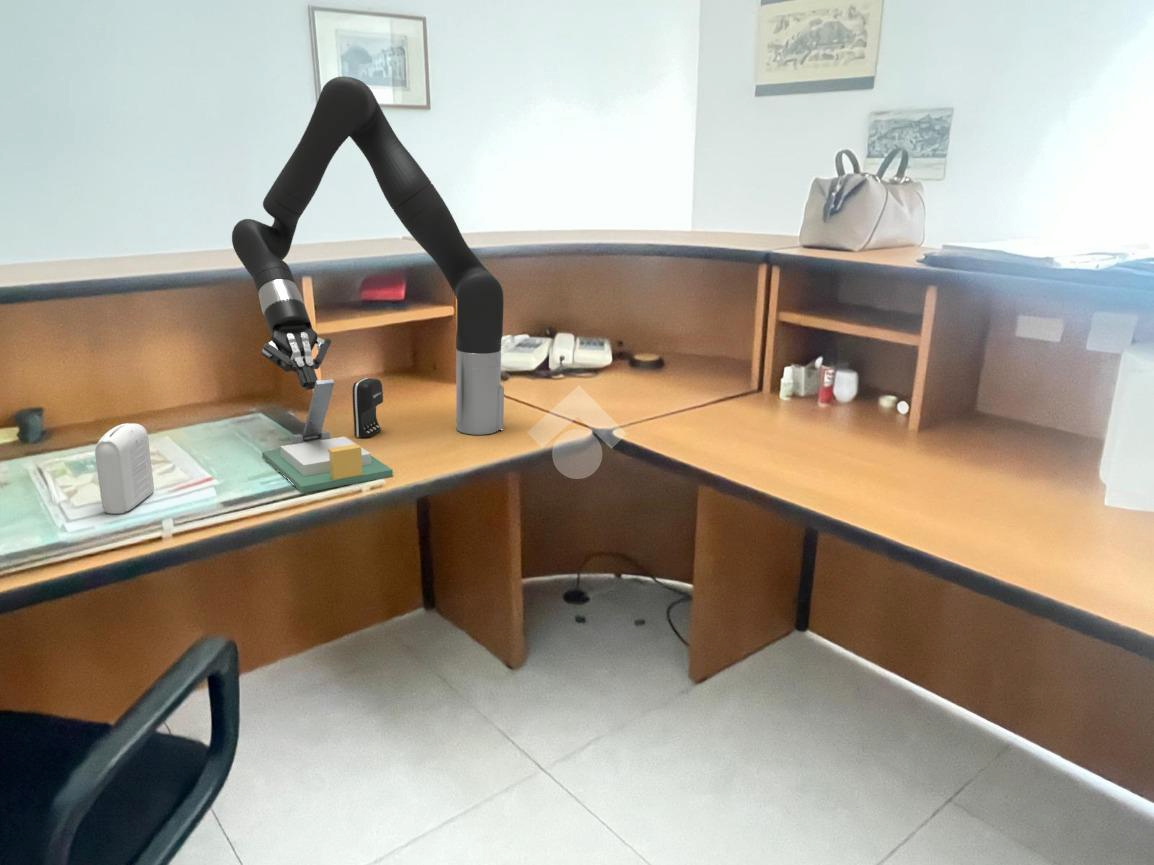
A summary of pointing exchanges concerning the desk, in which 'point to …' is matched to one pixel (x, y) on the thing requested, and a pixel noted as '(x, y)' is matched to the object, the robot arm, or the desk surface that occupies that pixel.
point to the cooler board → (324, 477)
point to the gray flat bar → (317, 409)
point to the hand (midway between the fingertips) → (310, 387)
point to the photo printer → (124, 468)
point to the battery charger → (366, 406)
